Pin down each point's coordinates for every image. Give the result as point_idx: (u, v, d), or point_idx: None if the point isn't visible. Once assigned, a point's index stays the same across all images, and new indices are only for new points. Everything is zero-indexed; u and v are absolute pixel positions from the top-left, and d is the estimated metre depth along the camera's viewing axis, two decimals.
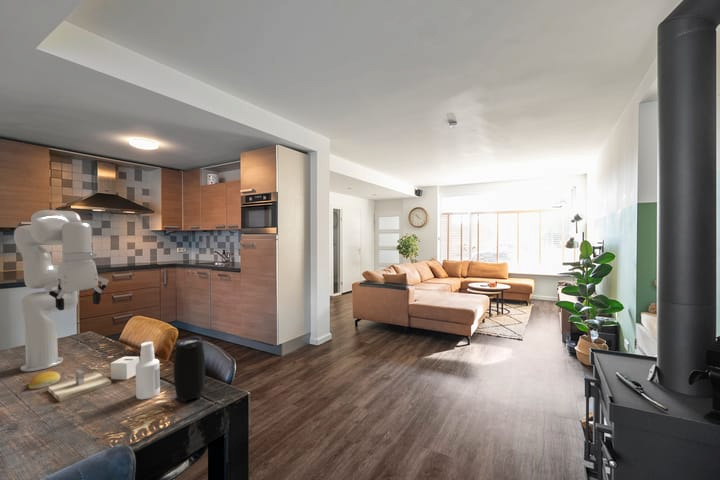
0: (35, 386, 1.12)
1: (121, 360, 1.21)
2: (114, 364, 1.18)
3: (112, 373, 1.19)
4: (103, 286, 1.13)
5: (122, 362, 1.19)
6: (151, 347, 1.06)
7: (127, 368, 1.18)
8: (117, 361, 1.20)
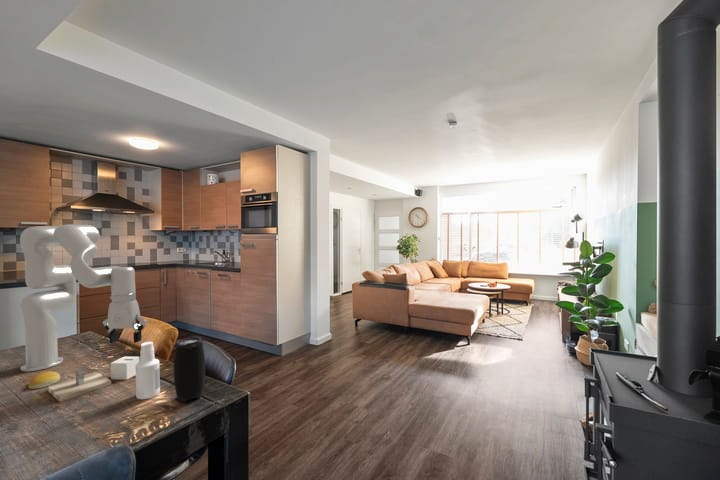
0: (35, 386, 1.12)
1: (121, 360, 1.21)
2: (114, 364, 1.18)
3: (112, 373, 1.19)
4: None
5: (122, 362, 1.19)
6: (151, 347, 1.06)
7: (127, 368, 1.18)
8: (117, 361, 1.20)
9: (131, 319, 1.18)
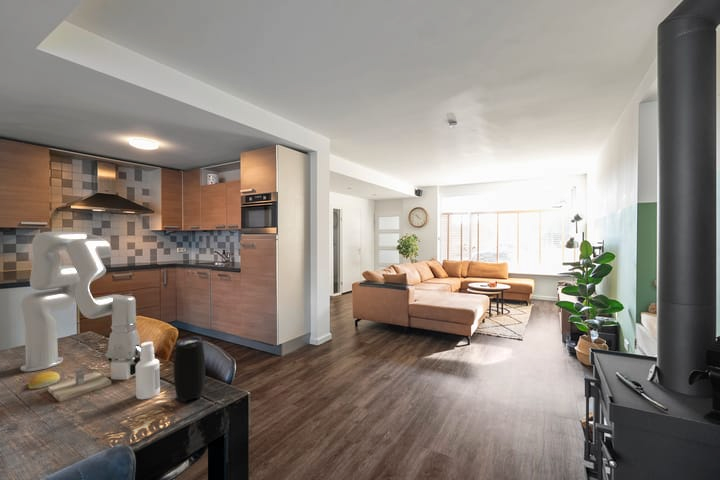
0: (35, 386, 1.12)
1: (121, 360, 1.21)
2: (114, 364, 1.18)
3: (112, 373, 1.19)
4: None
5: (122, 362, 1.19)
6: (151, 347, 1.06)
7: (127, 367, 1.18)
8: (117, 361, 1.20)
9: (131, 350, 1.19)
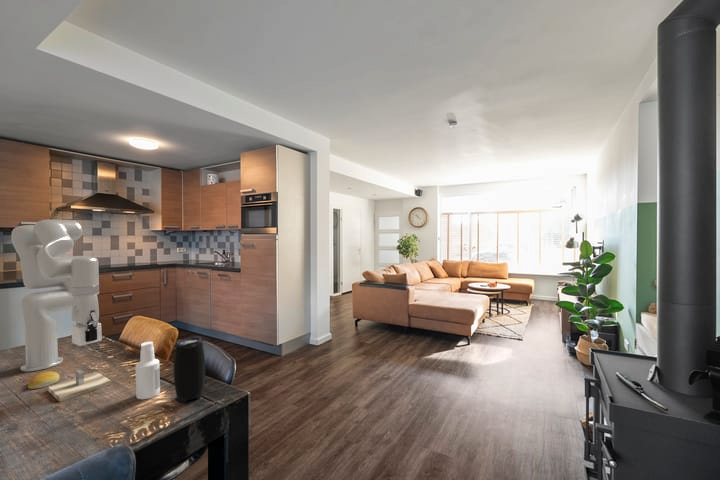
0: (34, 386, 1.12)
1: (83, 324, 1.14)
2: (73, 327, 1.12)
3: (72, 336, 1.12)
4: None
5: (79, 327, 1.11)
6: (151, 347, 1.06)
7: (80, 333, 1.09)
8: (78, 325, 1.13)
9: (83, 314, 1.09)
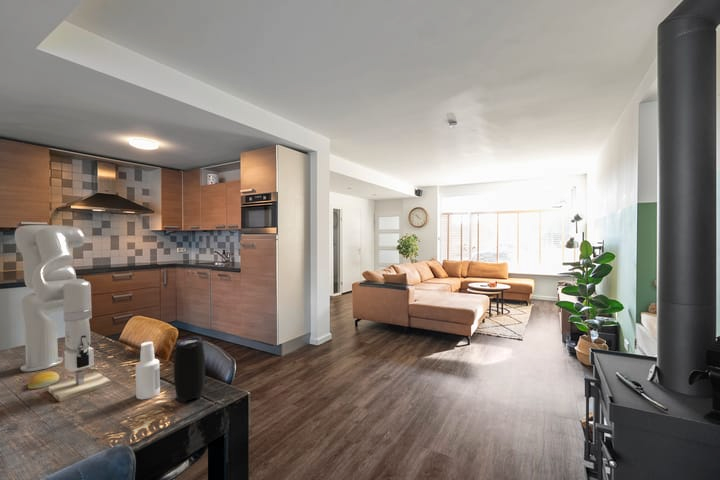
0: (34, 386, 1.12)
1: (76, 349, 1.12)
2: (65, 353, 1.10)
3: (65, 362, 1.11)
4: None
5: (70, 352, 1.09)
6: (151, 347, 1.06)
7: (71, 359, 1.08)
8: (71, 350, 1.12)
9: (74, 340, 1.07)
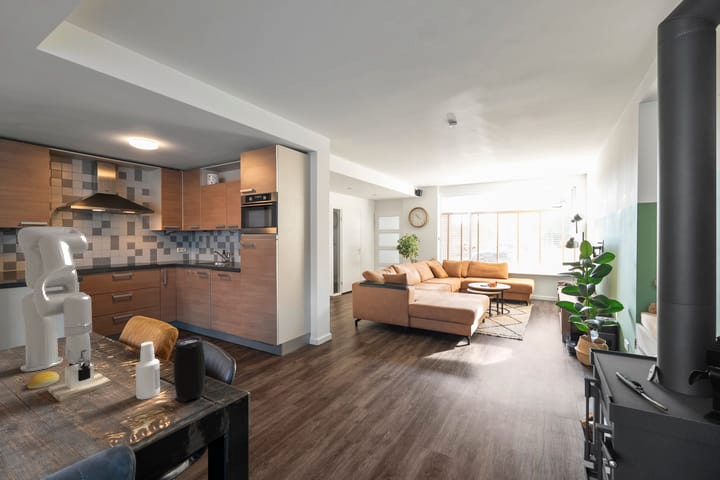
0: (34, 386, 1.12)
1: (76, 366, 1.12)
2: (66, 370, 1.10)
3: (65, 378, 1.11)
4: None
5: (71, 369, 1.10)
6: (151, 347, 1.06)
7: (71, 377, 1.08)
8: (71, 367, 1.12)
9: (74, 355, 1.08)
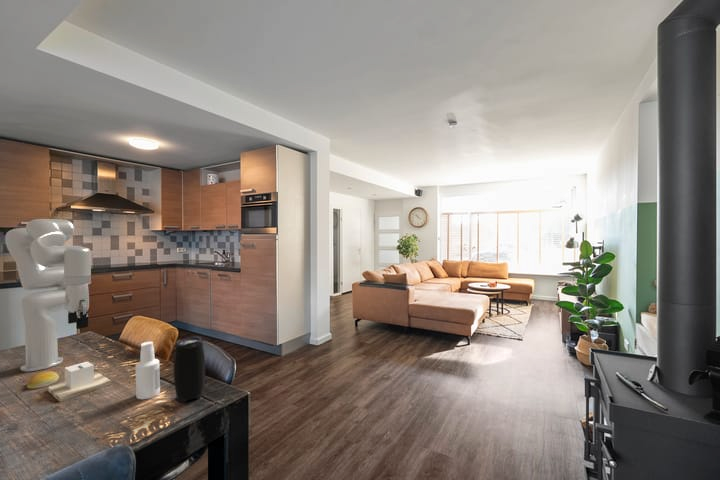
0: (34, 386, 1.12)
1: (76, 366, 1.12)
2: (66, 370, 1.10)
3: (65, 378, 1.11)
4: None
5: (71, 369, 1.10)
6: (151, 347, 1.06)
7: (71, 377, 1.08)
8: (71, 367, 1.12)
9: (73, 303, 1.11)
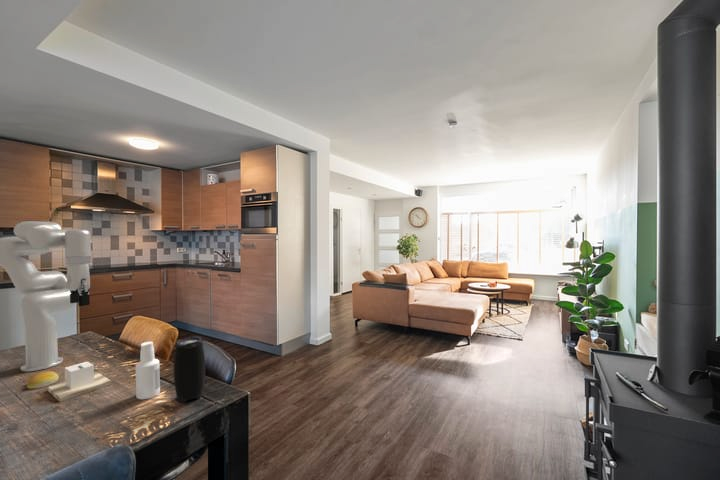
0: (33, 386, 1.12)
1: (76, 366, 1.12)
2: (66, 370, 1.10)
3: (65, 378, 1.11)
4: None
5: (71, 369, 1.10)
6: (151, 347, 1.06)
7: (71, 377, 1.08)
8: (71, 367, 1.12)
9: (75, 282, 1.17)
